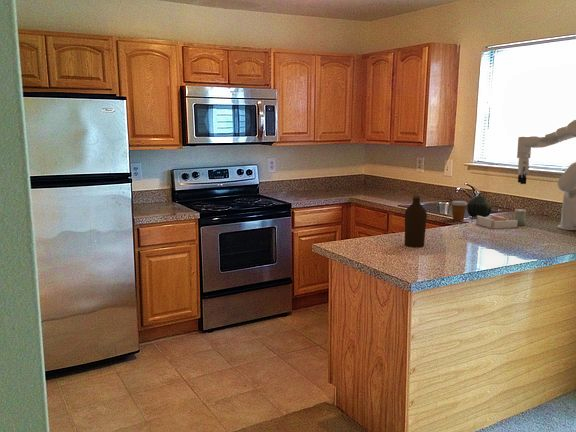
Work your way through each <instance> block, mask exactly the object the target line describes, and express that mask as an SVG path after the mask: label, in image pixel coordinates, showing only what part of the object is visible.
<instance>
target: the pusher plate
mask: <svg viewBox="0 0 576 432" xmlns="http://www.w3.org/2000/svg"><path fill="white" fill-rule="evenodd" d="M490 217H491V219H493V220H494V221H508V219H507V217H503V216H502V217H499V215H493V214H492V215H491V214H490Z"/></svg>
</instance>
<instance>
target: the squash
mask: <svg viewBox="0 0 576 432" xmlns="http://www.w3.org/2000/svg"><path fill="white" fill-rule="evenodd" d="M492 208H493V207H492V204H491V203H490V201H489V200H488V199H486V198H485V196H484V197H483V196H482V195H480V194H479V195H477V196H474V197H473V198H472V199H471V200H470V201H469V202H468V203H467V205H466V209H467V213H468V215H469V216H470V217H472V218H475V217H476V218H477V216H482V217H490V216H491V212H492Z"/></svg>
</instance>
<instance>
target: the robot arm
mask: <svg viewBox="0 0 576 432" xmlns="http://www.w3.org/2000/svg"><path fill="white" fill-rule="evenodd" d="M573 138H576V119H573V120H570V121H569V122H568V123H567V124H563V125H561V126H558V127H556V129H555V130H553V131H552V132H548V133H545V134H536V135H535V134H533V135H519V136H518V138H517V154H516V158H517V159H518V164H517V173H518V176H517V183H520V185H526V184H527V175H529V169H530V166H529V165H530V159H531V154H532V152H531V151H532V148H534V149H535V148H536V149H537V148H546V147H550V146H552V145H556V144H559V143H561V142H564V141H567V140H570V139H573ZM557 181H558V182H557V186H558V189H559V190H560V191H561V192H564V193H563V197H562V208H561V217H560V224H558V225H557V228H558V229H561V230H565V231H566V230H567V231H576V160H575V161H573V162H571V164H570V165H569V166H568V168H566V170H565V171H564V173H562V175H561V176H560V177H559V178H558V180H557Z"/></svg>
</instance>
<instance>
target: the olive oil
mask: <svg viewBox="0 0 576 432" xmlns="http://www.w3.org/2000/svg"><path fill="white" fill-rule="evenodd" d="M412 196H413V197H412V203H411V204H410V205H409V206H408V207H407V208H406V209H405V211H404V245H405V246H406V247H411V248H422V247H424V246H425V237H426V227H427V216H428V214H427V210H426V208H425V207H424V206H423V205H422V204H421V195H420V194H413V195H412Z"/></svg>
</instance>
